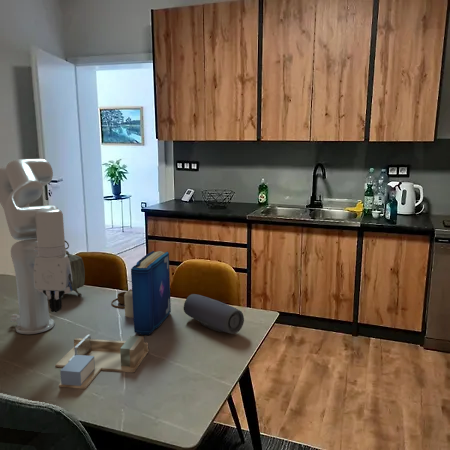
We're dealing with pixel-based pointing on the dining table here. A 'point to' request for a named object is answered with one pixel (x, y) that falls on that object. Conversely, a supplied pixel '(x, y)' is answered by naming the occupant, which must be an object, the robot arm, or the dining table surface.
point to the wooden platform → (110, 356)
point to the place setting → (120, 300)
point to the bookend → (83, 346)
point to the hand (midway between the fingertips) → (56, 310)
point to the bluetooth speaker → (214, 314)
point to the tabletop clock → (76, 271)
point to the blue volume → (150, 292)
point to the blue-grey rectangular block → (77, 370)
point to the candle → (128, 304)
